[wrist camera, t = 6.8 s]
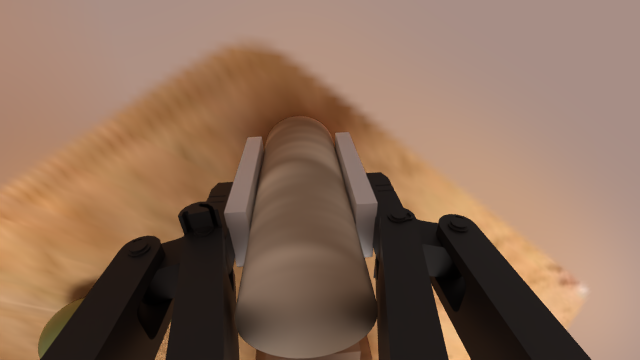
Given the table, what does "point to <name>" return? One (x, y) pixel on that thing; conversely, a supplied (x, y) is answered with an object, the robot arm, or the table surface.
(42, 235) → the table surface
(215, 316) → the robot arm
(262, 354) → the wooden open stand
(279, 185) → the block
